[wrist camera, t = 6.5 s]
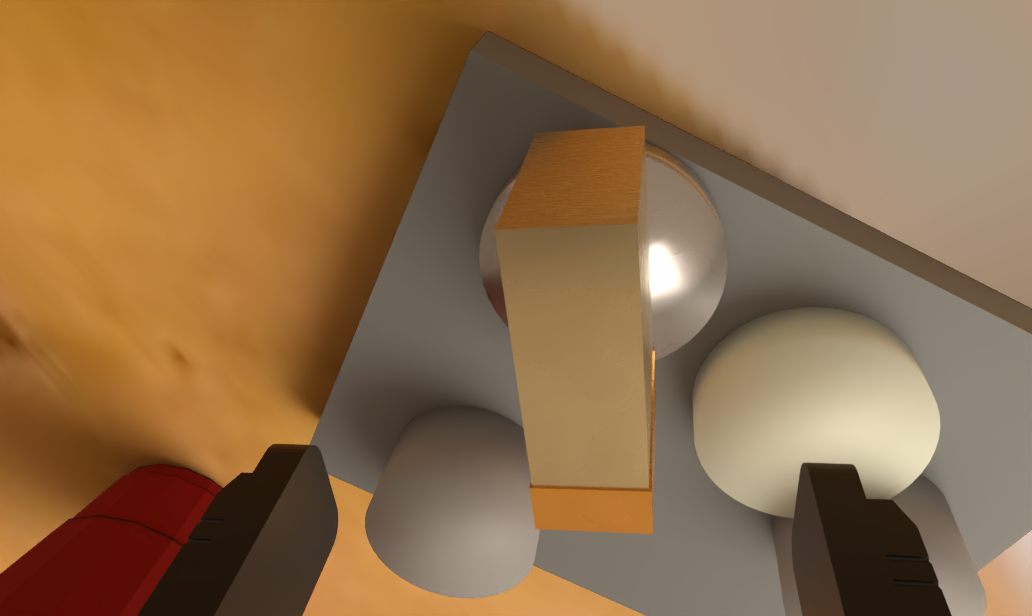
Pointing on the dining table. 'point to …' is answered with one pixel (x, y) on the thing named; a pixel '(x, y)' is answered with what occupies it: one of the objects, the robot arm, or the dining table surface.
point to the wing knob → (598, 311)
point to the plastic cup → (110, 548)
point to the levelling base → (680, 383)
